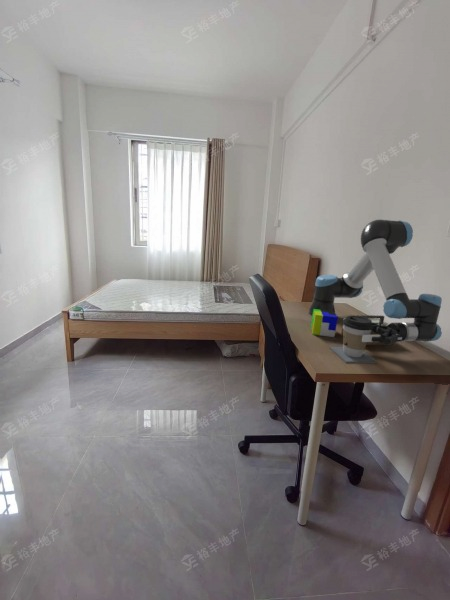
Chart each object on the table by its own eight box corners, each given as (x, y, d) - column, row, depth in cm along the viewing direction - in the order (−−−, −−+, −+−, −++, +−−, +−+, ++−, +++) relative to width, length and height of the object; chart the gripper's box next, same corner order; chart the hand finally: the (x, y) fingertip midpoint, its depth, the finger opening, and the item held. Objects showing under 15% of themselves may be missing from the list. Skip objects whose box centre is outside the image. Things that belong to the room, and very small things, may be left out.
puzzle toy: (334, 337, 131) (337, 317, 128) (312, 334, 132) (315, 314, 130) (330, 329, 140) (334, 311, 138) (310, 327, 142) (313, 309, 139)
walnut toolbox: (340, 333, 135) (344, 311, 132) (375, 333, 138) (379, 311, 135) (355, 344, 123) (360, 320, 120) (393, 344, 125) (399, 320, 122)
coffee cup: (333, 346, 118) (339, 313, 114) (360, 348, 118) (366, 315, 114) (343, 359, 107) (350, 323, 103) (373, 360, 107) (380, 324, 103)
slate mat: (329, 348, 118) (329, 346, 118) (357, 348, 120) (357, 346, 119) (345, 362, 105) (346, 361, 105) (376, 362, 107) (377, 361, 107)
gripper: (423, 354, 101) (370, 354, 99) (379, 329, 125) (335, 328, 123) (428, 335, 99) (374, 334, 97) (383, 313, 123) (338, 312, 121)
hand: (352, 331), depth 110 cm, fingers open, 13 cm apart
